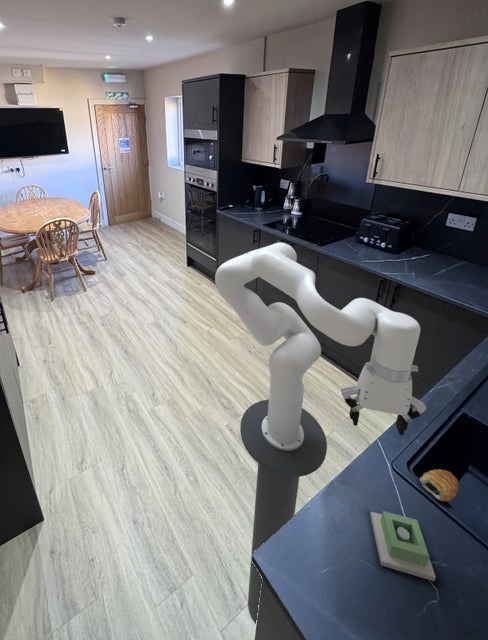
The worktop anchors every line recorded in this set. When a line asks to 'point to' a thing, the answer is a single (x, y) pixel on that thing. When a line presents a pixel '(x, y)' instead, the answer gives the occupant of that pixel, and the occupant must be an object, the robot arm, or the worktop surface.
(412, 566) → the base pad
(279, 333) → the robot arm
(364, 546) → the worktop surface
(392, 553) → the green hollow square block
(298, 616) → the worktop surface
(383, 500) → the worktop surface
